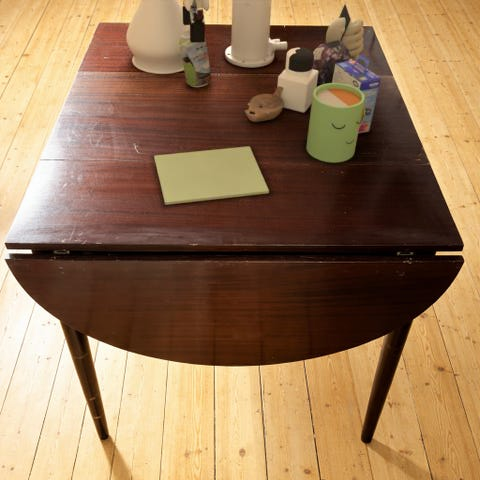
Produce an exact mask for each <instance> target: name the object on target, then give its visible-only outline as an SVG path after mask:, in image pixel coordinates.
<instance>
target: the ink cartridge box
mask: <svg viewBox="0 0 480 480" xmlns="http://www.w3.org/2000/svg"><path fill="white" fill-rule="evenodd" d="M360 61H363V62H364V64H365V66H364V65H362V64H361V63H360ZM371 63H372V61H371V60H369V59H368V58H367V57H365V56H364V55H363V54H359V58H358V59H357V60H356V61H355V60H352V61H345V62H341V63H336V64H335V69H334V75H333V81H332V83H342V84H347V85H351V86H354V87H356V88H358V89H359V90H361V91H362V92H363V94H364V96H365V99H364V105H365V116H364V119H363V122H362V124H361V126H360V127H359V131H358V135H359V134H364V133H368V132H369V133H370V130H371V125H372V120H373V117H374V111H375V107H376V102H377V98H378V93H379V89H380V84H381V80H382V78H381V77H380V76H379V75H377V74H376V73H374V72H373V71H371V69H368V68H369V66H370V64H371ZM361 116H362V115H361Z"/></svg>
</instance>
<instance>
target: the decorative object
mask: <svg viewBox="0 0 480 480" xmlns="http://www.w3.org/2000/svg"><path fill="white" fill-rule="evenodd" d="M364 23H365V21H364V20H363V18H357V19H355V21H354V22H353V20H352V19H351V16H350V13H349V11H348V7H347V5H346V4H344V5H343V7H342V10H341V12H340V14H339V16H338V18H336V19H335V20H333V21H332V22H331V24H330V25H328V28H327V31H326V34H325V43H328V42H332V41H336V40H340V41H342V42H343V43H344V44H345V46H346V47H347V48H348V50H349V53H350V55H351V57H352V60H355V61H356V60H357V59H358V58H359V56H360V54H361V53H362V51H363V50H364V47H365V46H364V38H363V35H364V33H365V29H364Z"/></svg>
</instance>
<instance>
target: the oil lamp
mask: <svg viewBox="0 0 480 480" xmlns="http://www.w3.org/2000/svg"><path fill="white" fill-rule="evenodd" d="M277 86H278V85H277ZM277 86H276V89H275V91H274V93H271V94H270V93H262V94H257V95H255V96H253V97H251V99H250V102H248V103H247V107H248V108H247V109H245V110H244V113H245V116H246V117H247V119H248V120H249V121H251V122H253V123H258V122H259V123H260V122H264V121H271V120H274V119H276V118H277V117H278V116H279V115H280V113H282V111H283V109H284V108H283V105H284V102H283V99H281V97H280V94H281V91H282V90H283V87H281V86H280V87H279V86H278V87H277Z"/></svg>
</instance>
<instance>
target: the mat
mask: <svg viewBox="0 0 480 480" xmlns="http://www.w3.org/2000/svg"><path fill="white" fill-rule="evenodd" d="M153 159H154V164H155V167H156V170H157V176H158V180H159V184H160V189H161V192H162V197H163V201H164V205H165V206H168V205H176V204H185V203H186V204H187V203H194V202H203V201H211V200H212V201H214V200H221V199H231V198H239V197H249V196H257V195H266V194H267V195H268V194H269V193H270V189H269V187H268V185H267V183H266V181H265V178H264V176H263V174H262V171H261V169H260V167H259V165H258V162H257V160H256V158H255V155H254V153H253V150H252V148H251V146H250V145H249V146H240V147H239V146H238V147H227V148H218V149H209V150H208V149H207V150H199V151H188V152H178V153H168V154H167V153H166V154H157V155H153Z"/></svg>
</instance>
